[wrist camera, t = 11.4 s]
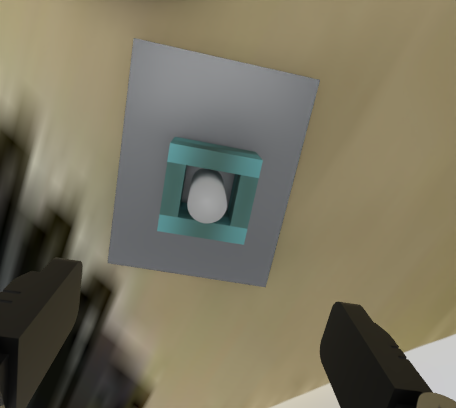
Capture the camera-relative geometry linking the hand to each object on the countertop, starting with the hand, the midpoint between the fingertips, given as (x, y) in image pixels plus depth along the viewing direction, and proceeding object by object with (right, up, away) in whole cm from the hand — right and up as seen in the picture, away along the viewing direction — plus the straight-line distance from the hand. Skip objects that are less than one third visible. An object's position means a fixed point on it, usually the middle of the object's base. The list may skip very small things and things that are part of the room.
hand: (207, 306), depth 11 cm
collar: (-1, +5, +15) cm, 16 cm away
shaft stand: (-1, +6, +19) cm, 20 cm away
